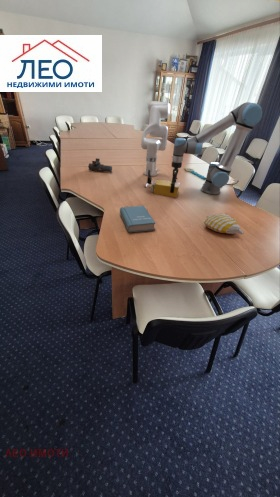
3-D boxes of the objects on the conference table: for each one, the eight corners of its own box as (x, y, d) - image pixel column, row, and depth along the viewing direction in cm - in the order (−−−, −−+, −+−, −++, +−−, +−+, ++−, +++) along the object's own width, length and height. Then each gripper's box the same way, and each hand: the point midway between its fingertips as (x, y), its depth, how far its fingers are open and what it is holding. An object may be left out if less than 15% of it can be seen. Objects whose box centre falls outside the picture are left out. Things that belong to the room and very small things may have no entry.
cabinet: (153, 193, 175) (154, 184, 170) (156, 189, 184) (157, 179, 179) (176, 197, 172) (178, 187, 167) (177, 192, 181) (179, 182, 176)
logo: (182, 168, 234) (183, 167, 234) (191, 168, 237) (191, 167, 236) (198, 179, 209) (198, 178, 208) (207, 179, 211) (207, 178, 211)
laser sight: (109, 174, 206) (109, 163, 200) (87, 171, 209) (86, 160, 203) (112, 171, 214) (112, 160, 208) (90, 168, 217) (90, 157, 211)
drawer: (143, 191, 176) (144, 183, 173) (146, 186, 184) (147, 179, 180) (172, 195, 173) (173, 187, 169) (173, 190, 180) (174, 183, 177)
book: (154, 230, 131) (155, 222, 128) (128, 232, 126) (128, 225, 124) (143, 212, 148) (143, 205, 145) (119, 214, 144) (120, 207, 141)
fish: (254, 225, 128) (232, 232, 118) (249, 236, 132) (228, 244, 123) (221, 208, 144) (199, 213, 134) (217, 218, 149) (196, 224, 139)
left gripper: (148, 156, 172) (146, 179, 183) (144, 161, 160) (142, 185, 171) (157, 157, 171) (155, 181, 181) (154, 162, 159) (151, 187, 169)
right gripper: (173, 157, 172) (169, 184, 185) (170, 165, 154) (165, 194, 167) (183, 158, 171) (178, 185, 184) (180, 166, 152) (175, 196, 165)
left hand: (149, 183), depth 176 cm, fingers closed
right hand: (172, 190), depth 175 cm, fingers closed on cabinet, 11 cm apart
